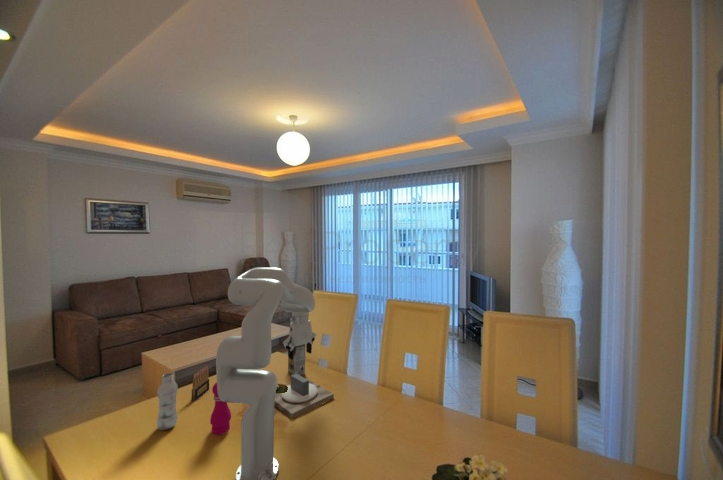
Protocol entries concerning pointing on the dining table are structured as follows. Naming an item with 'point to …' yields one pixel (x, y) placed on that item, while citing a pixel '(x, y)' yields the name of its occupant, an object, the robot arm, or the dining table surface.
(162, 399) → the plastic bottle
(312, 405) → the dial board
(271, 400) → the robot arm
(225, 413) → the pepper mill
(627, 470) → the dining table surface
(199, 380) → the ammunition clip
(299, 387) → the dial
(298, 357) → the coffee box
